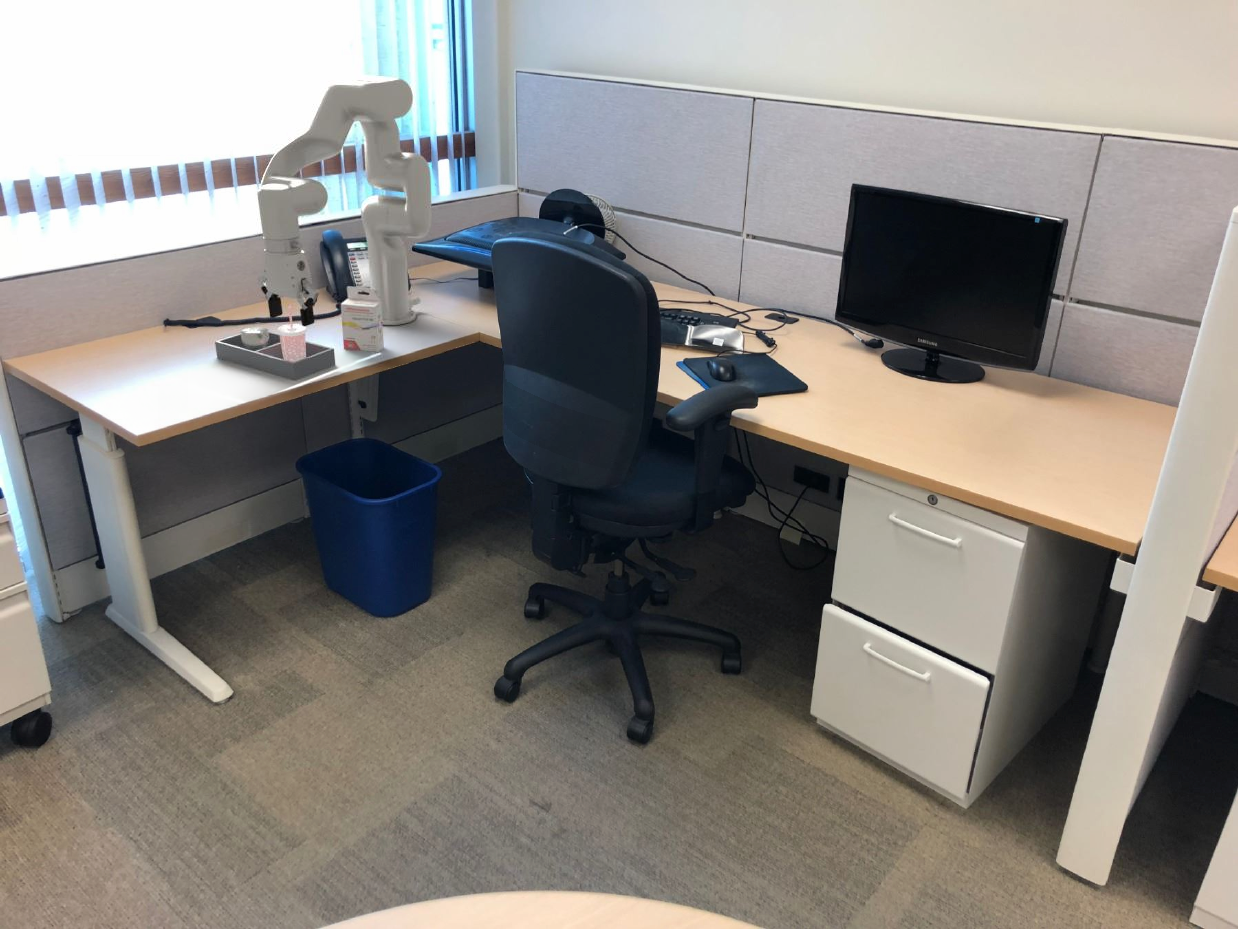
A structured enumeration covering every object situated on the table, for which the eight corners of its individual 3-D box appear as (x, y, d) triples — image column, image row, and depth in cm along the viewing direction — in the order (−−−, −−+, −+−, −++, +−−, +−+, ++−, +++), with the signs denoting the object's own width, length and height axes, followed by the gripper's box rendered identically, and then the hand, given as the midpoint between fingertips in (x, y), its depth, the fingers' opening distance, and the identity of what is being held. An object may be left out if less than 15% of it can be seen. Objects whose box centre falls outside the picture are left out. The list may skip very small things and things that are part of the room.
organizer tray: (259, 346, 238) (256, 327, 236) (335, 367, 228) (334, 348, 226) (217, 360, 229) (214, 341, 227) (295, 383, 218) (293, 363, 216)
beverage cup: (315, 365, 226) (310, 305, 220) (294, 373, 222) (288, 312, 215) (296, 359, 229) (290, 300, 223) (275, 367, 224) (268, 307, 218)
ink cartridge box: (343, 351, 237) (338, 291, 231) (350, 344, 242) (345, 285, 235) (378, 354, 237) (374, 293, 230) (384, 347, 241) (381, 287, 235)
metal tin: (258, 349, 234) (255, 325, 231) (276, 355, 231) (274, 330, 229) (238, 356, 229) (234, 331, 227) (256, 362, 227) (253, 336, 224)
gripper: (325, 246, 212) (333, 323, 220) (267, 234, 220) (277, 308, 228) (298, 254, 207) (308, 332, 215) (240, 241, 214) (251, 317, 222)
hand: (292, 320), depth 221 cm, fingers open, 9 cm apart
